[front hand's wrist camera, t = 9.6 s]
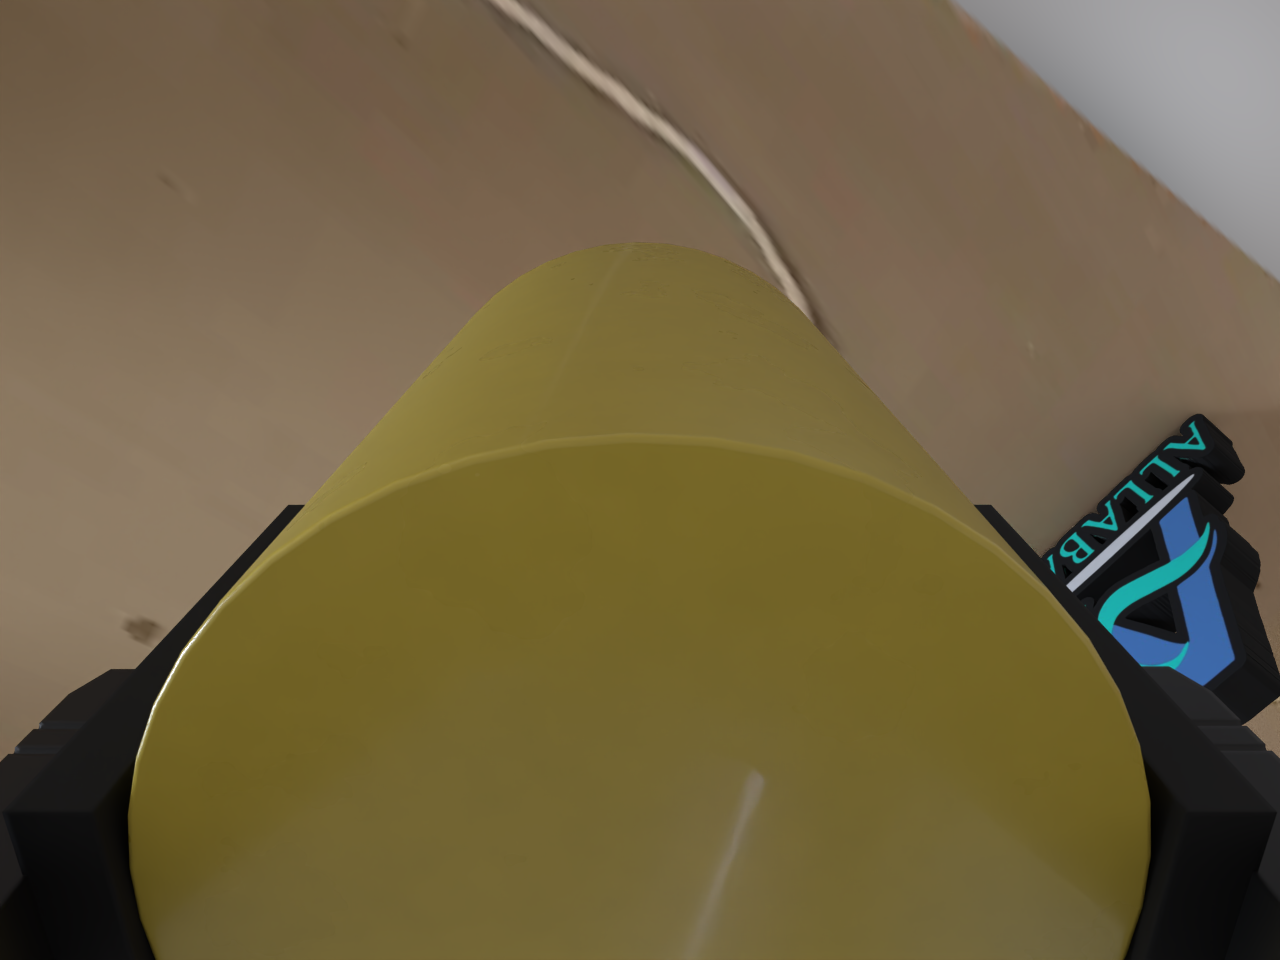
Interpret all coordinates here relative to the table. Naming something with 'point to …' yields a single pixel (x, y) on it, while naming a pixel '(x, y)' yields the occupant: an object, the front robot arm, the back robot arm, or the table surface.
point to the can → (639, 673)
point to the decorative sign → (1177, 570)
